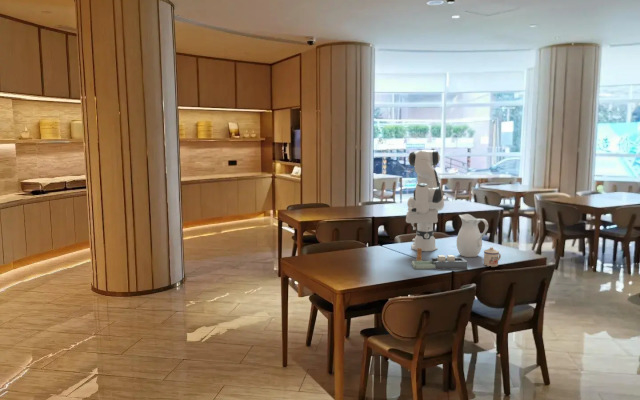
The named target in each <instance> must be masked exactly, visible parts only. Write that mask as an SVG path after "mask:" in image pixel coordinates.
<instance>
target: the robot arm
mask: <svg viewBox="0 0 640 400" xmlns="http://www.w3.org/2000/svg"><path fill="white" fill-rule="evenodd" d="M407 158H408V159H407V160H408V163H409V166H411V167H414V172H415V173H416V174H417V177H416V179H417V183H416V184H415V185H416V187H415V189H414V190H413V192H412V193H413V196H411V197H409V198H408V200H407V212H406V216H405V222H406V223H408V224H411V226H412V230H413V231H416V234H415V235H416V236H415V237H414V238H413V239H411V240H412V243H411V250H414V251H417V248H421V249H422V252H433V251H436V250H438V247H437V246H436V237H434V224H437V223H438V222H439V221H438V220H439V219H438V215H439V212H440V211H442V210H443V209H444V206H445V201H444V199H443V191H442V189H441V186H440V182H439V177H438V173H437V171H436V169H434V168H435V166H437V165H438V164H439V162H440V159H441V156H440V153H439V151H438V150H435V149H434V150H430V149H429V150H425V149H422V150H421V149H420V150H417V151H411V152H410V153H409V154H408V157H407ZM415 224H416V226H415Z"/></svg>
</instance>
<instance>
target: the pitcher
mask: <svg viewBox="0 0 640 400" xmlns="http://www.w3.org/2000/svg"><path fill="white" fill-rule="evenodd" d="M458 216H459V218H460V219H461V227H460V228H459V231H458V234H457V236H456V247H457V248H456V249H457V252H458V253H459V255H460V257H461V256H462V257H463V258H476V257H478V256H479V254H480V253H481V252H482V251H481V250H482V248H483V237H484V236H485V234H486V233H487V232H488V229H489V223H488V220H486V219H485V218H477V217H475V216H473V215H471V214H469V213H465V214H458ZM481 222H483V223H484V230H483V232H480V231H481V230H480V229H479V223H481ZM481 233H482V234H481Z"/></svg>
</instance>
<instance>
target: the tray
mask: <svg viewBox="0 0 640 400" xmlns="http://www.w3.org/2000/svg"><path fill="white" fill-rule="evenodd" d="M411 266H412V268H413V269H414V270H431V269H432V270H435V269H434V268H436V265H432V260H422V261H416V260H411Z"/></svg>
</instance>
